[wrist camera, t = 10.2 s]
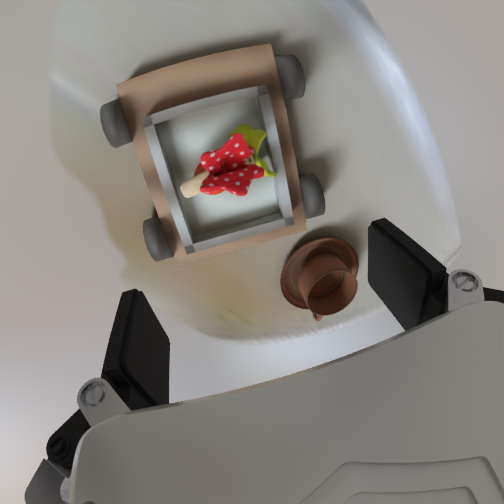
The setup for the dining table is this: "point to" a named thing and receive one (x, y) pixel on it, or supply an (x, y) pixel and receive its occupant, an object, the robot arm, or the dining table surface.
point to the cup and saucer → (321, 276)
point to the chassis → (213, 138)
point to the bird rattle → (229, 165)
